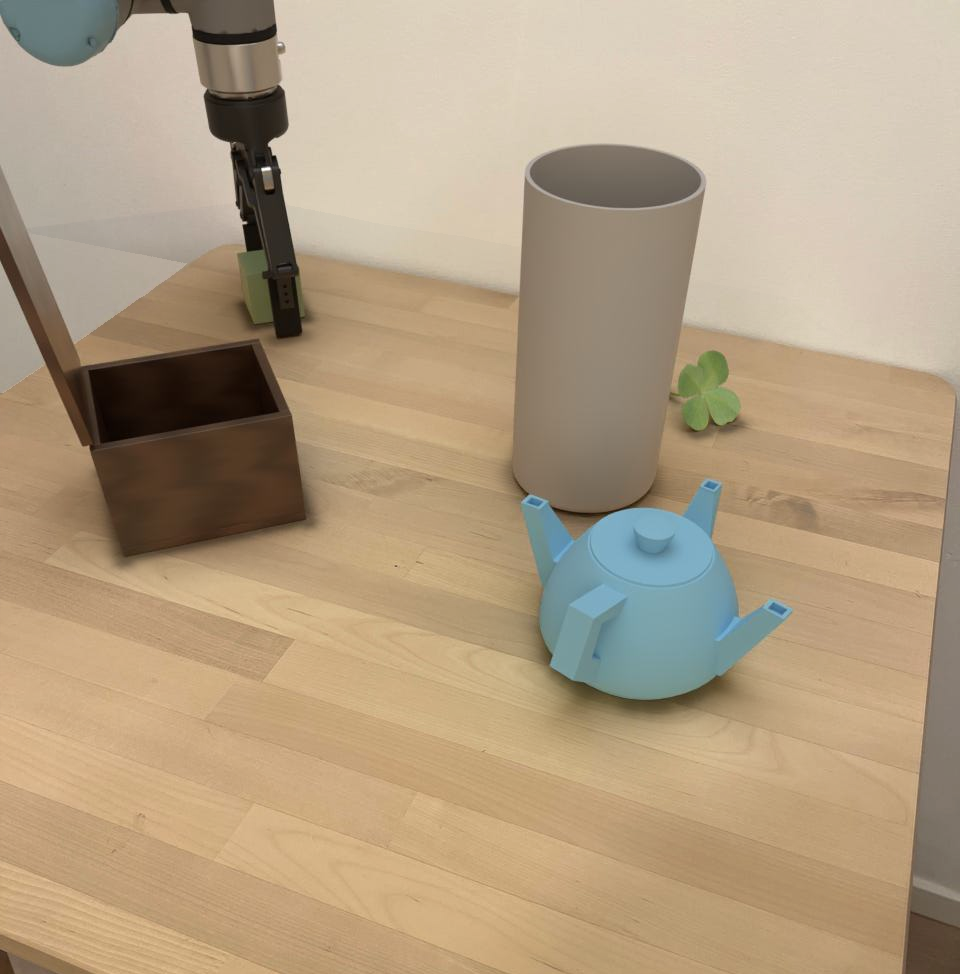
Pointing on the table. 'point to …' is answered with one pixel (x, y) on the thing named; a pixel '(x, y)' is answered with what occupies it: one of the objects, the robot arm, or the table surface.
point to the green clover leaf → (707, 392)
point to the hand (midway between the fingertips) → (276, 307)
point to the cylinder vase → (600, 319)
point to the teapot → (642, 599)
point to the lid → (42, 312)
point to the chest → (192, 445)
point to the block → (260, 286)
